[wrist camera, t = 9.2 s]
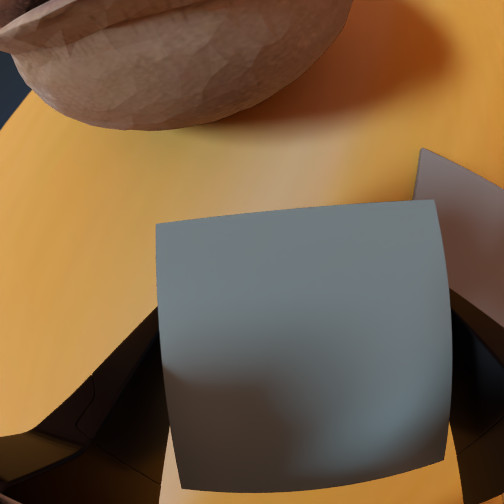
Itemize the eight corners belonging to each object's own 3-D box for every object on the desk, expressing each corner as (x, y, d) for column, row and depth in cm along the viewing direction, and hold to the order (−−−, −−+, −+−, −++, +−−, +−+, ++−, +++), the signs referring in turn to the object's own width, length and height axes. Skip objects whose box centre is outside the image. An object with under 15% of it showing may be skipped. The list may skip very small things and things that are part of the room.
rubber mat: (511, 361, 15) (514, 361, 14) (381, 320, 17) (384, 321, 16) (533, 212, 16) (536, 210, 16) (420, 150, 18) (422, 147, 18)
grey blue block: (362, 382, 15) (443, 460, 5) (237, 394, 16) (181, 488, 6) (353, 259, 16) (434, 199, 7) (228, 270, 17) (155, 223, 7)
